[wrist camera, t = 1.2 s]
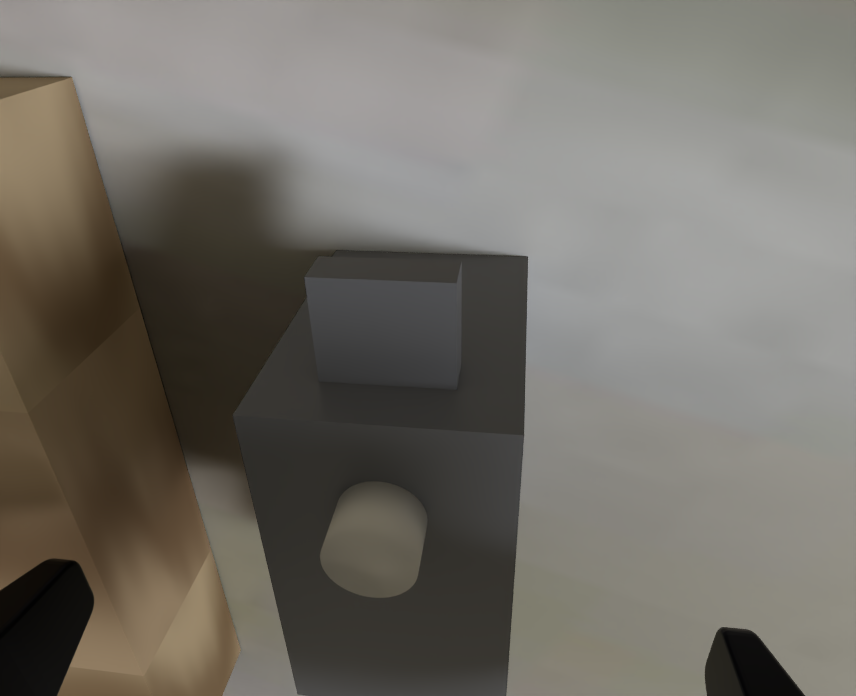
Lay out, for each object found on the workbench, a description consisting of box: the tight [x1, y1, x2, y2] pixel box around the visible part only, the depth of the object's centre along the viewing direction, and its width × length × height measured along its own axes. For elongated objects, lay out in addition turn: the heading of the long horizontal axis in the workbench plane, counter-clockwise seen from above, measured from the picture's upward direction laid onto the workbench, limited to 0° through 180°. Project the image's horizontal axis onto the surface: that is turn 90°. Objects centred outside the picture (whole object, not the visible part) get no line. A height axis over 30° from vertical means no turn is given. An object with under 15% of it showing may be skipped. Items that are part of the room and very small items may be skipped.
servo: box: [233, 250, 528, 696], centre depth 11 cm, size 9×4×6 cm, turn 1°
